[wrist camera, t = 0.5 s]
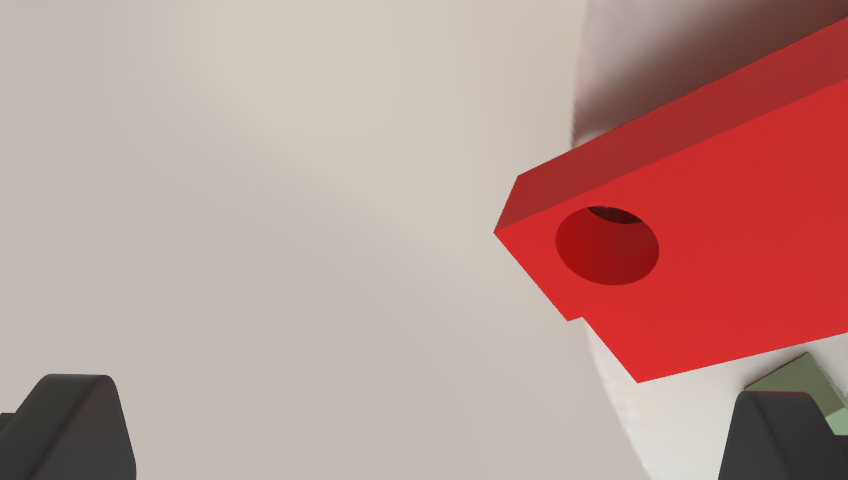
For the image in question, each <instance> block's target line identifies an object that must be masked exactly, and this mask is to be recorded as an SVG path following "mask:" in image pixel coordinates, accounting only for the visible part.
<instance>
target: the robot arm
mask: <svg viewBox="0 0 848 480" xmlns="http://www.w3.org/2000/svg"><path fill="white" fill-rule="evenodd" d="M0 480H136V463H135V458H134V454H133V450H132V446H131V442H130V439H129V435H128V431H127V427H126V423H125V419H124V415H123V411H122V408H121V403H120V399H119V396H118V392H117V388H116V386H115V383H114V381H113V380H112V378H111V377H109V376H107V375H84V374H48V375H46V376H44V377H43V378H42V379H41V380H40V381H39V382H38V383H37V385H36V386H35V387H34V388H33V390H32V391H31V392H30V394H29V395H28V396H27V398H26V399H25V400H24V402H23V403H22V404H21V406H20V407H19V408H18V410H17V411H16V413H1V414H0ZM718 480H848V435H835V434H834V433H833V431H832V429H831V427H830V426H829V424H828V422H827V421H826V419H825V417H824V416H823V414H822V412H821V410H820V409H819V407H818V405H817V404H816V402H815V400H814V399H813V398H812V396H811V395H810V394H808V393H806V392H792V391H742V392H741V393H740V394H739V395H738V397H737V399H736V403H735V406H734V411H733V415H732V420H731V424H730V428H729V433H728V437H727V442H726V446H725V451H724V455H723V459H722V464H721V468H720V473H719V477H718Z"/></svg>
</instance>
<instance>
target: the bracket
mask: <svg viewBox="0 0 848 480" xmlns="http://www.w3.org/2000/svg"><path fill="white" fill-rule="evenodd" d="M594 206H608V207H614V208H618V209H622V210H625V211H627V212H629V213H631V214H633V215H635V216H637V217H638V218H640V219H641V220H642V221H643V222H639V223H633V224H621V223H614V222H610V221H607V220H605V219H602V218H600V217H598V216H596V215H595V214H593V213H592V212H591V211H589V210H588V209H587V207H594ZM493 233H494V234H495V235H496V236H497V237H498V239H499V240H500V241H501V242H502V243H503V244H504V246H505V247H506V248H507V249H508V251H509V252H510V253H511V254H512V255H513V257H514V258H515V259H516V260H517V261H518V263H519V264H520V265H521V266H522V267H523V269H524V270H525V271H526V272H527V273H528V275H529V276H530V277H531V278H532V279H533V281H534V282H535V283H536V284H537V285H538V287H539V288H540V289H541V290H542V291H543V293H544V294H545V295H546V296H547V297H548V298H549V300H550V301H551V302H552V303H553V305H554V306H555V307H556V308H557V309H558V311H559V312H560V313H561V314H562V315H563V317H564V318H565V319H566V320H567V321H570V320H573V319H577V318H580V317H583V318H584V319H585V320H586V321H587V323H588V324H589V325H590V326H591V328H592V329H593V330H594V331H595V332H596V334H597V335H598V336H599V337H600V338H601V340H602V341H603V342H604V343H605V345H606V346H607V347H608V348H609V349H610V351H611V352H612V353H613V354H614V355H615V357H616V358H617V359H618V360H619V362H620V363H621V364H622V365H623V366H624V368H625V369H626V370H627V371H628V373H629V374H630V375H631V376H632V377H633V379H634V380H635V381H636V382H637V383H641V382H645V381H649V380H653V379H657V378H661V377H666V376H670V375H674V374H678V373H682V372H686V371H690V370H694V369H699V368H703V367H707V366H711V365H715V364H719V363H723V362H727V361H731V360H736V359H740V358H744V357H748V356H752V355H756V354H760V353H764V352H769V351H773V350H777V349H781V348H785V347H789V346H793V345H797V344H802V343H806V342H810V341H814V340H818V339H822V338H826V337H830V336H835V335H839V334H843V333H847V332H848V17H846V18H844V19H842V20H840V21H838V22H836V23H834V24H832V25H830V26H827V27H825V28H823V29H821V30H819V31H817V32H815V33H813V34H811V35H809V36H807V37H805V38H803V39H801V40H798V41H796V42H794V43H792V44H790V45H788V46H786V47H784V48H782V49H780V50H778V51H776V52H774V53H771V54H769V55H767V56H765V57H763V58H761V59H759V60H757V61H755V62H753V63H751V64H749V65H747V66H745V67H742V68H740V69H738V70H736V71H734V72H732V73H730V74H728V75H726V76H724V77H722V78H720V79H718V80H716V81H713V82H711V83H709V84H707V85H705V86H703V87H701V88H699V89H697V90H695V91H693V92H691V93H689V94H686V95H684V96H682V97H680V98H678V99H676V100H674V101H672V102H670V103H668V104H666V105H664V106H662V107H660V108H657V109H655V110H653V111H651V112H649V113H647V114H645V115H643V116H641V117H639V118H637V119H635V120H633V121H631V122H628V123H626V124H624V125H622V126H620V127H618V128H616V129H614V130H612V131H610V132H608V133H606V134H604V135H602V136H599V137H597V138H595V139H593V140H591V141H589V142H587V143H585V144H583V145H581V146H579V147H577V148H575V149H572V150H570V151H568V152H566V153H565V154H562V155H560V156H558V157H556V158H554V159H552V160H550V161H548V162H546V163H543V164H541V165H539V166H537V167H535V168H533V169H531V170H529V171H527V172H525V173H523V174H521V175H519V176H518V177H517V179H516V182H515V184H514V186H513V188H512V191H511V193H510V195H509V198H508V200H507V202H506V205H505V207H504V209H503V212H502V214H501V216H500V218H499V221H498V223H497V225H496V228H495V230H494V232H493Z"/></svg>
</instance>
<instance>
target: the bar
mask: <svg viewBox="0 0 848 480" xmlns="http://www.w3.org/2000/svg"><path fill="white" fill-rule="evenodd" d="M744 390H745V391H792V392H806V393H808V394H810V395H811V396H812V398H813V399H814V400H815V402H816V404H817V405H818V407H819V409H820V410H821V412H822V414H823V416H824V417H825V419H826V421H827V422H828V424H829V426H830V427H831V429H832V431H833V433H834V434H835V435H848V401H847V400H846V398H845V397H844V396H843V395H842V393H841V392H840V391H839V389H838V388H837V387H836V386H835V384H834V383H833V382H832V381H831V379H830V378H829V377H828V375H827V374H826V373H825V372H824V370H823V369H822V368H821V367H820V365H819V364H818V363H817V362H816V360H815V359H814V358H813V356H812V355H811V354H810V353H809V352H808V353H806V354H804V355H803V356H801V357H799V358H797V359H796V360H794V361H792V362H790V363H789V364H787V365H785V366H783V367H781V368H780V369H778V370H776V371H774V372H773V373H771V374H769V375H767V376H766V377H764V378H762V379H760V380H759V381H757V382H755V383H753V384H752V385H750V386H748V387H746V388H745V389H744Z"/></svg>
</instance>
